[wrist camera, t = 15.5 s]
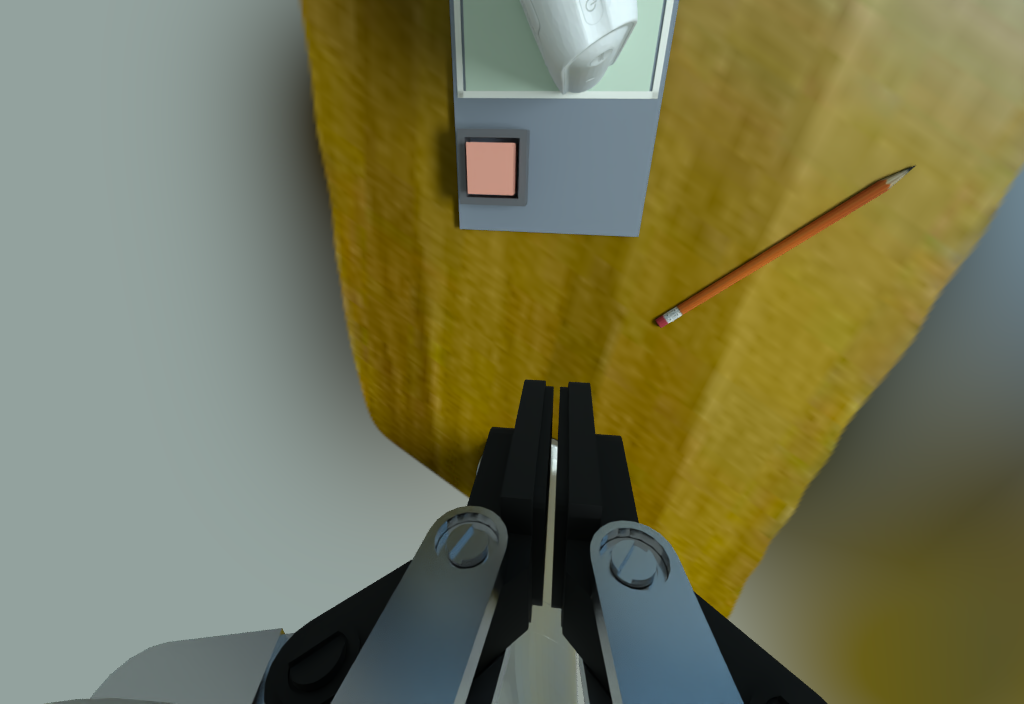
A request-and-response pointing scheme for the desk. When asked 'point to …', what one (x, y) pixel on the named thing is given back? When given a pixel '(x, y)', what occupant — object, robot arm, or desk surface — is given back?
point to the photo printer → (580, 37)
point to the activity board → (557, 122)
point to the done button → (492, 168)
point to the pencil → (784, 246)
